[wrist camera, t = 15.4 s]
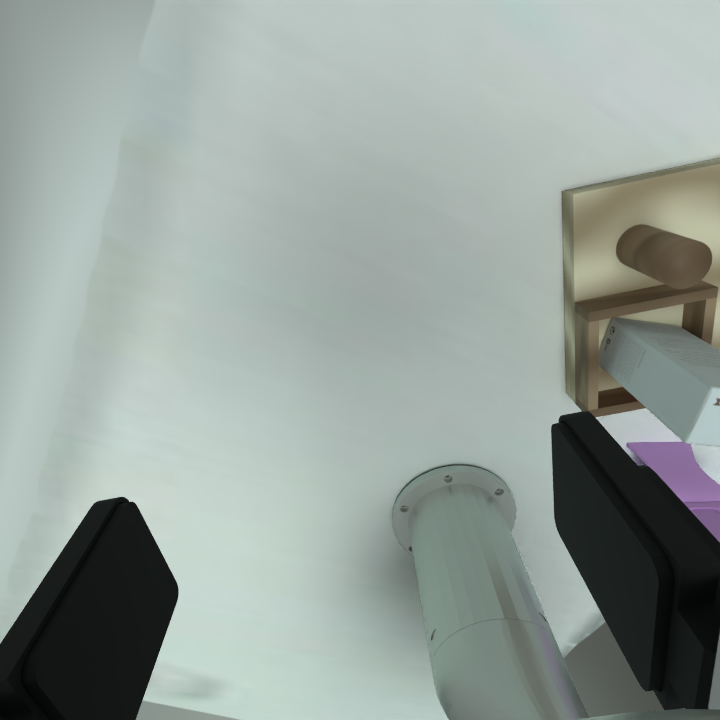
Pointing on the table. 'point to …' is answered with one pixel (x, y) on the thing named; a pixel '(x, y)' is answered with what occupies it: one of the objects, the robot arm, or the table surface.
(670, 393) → the skincare box
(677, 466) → the toy chair
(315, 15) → the table surface
